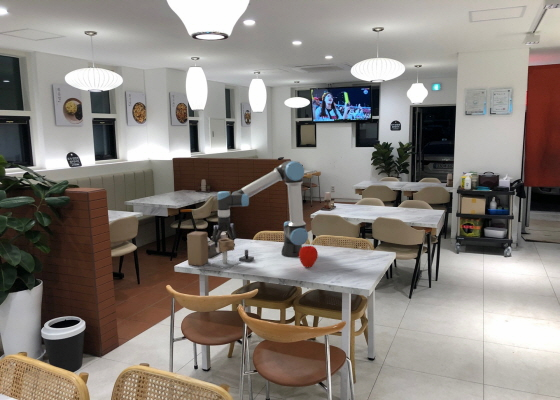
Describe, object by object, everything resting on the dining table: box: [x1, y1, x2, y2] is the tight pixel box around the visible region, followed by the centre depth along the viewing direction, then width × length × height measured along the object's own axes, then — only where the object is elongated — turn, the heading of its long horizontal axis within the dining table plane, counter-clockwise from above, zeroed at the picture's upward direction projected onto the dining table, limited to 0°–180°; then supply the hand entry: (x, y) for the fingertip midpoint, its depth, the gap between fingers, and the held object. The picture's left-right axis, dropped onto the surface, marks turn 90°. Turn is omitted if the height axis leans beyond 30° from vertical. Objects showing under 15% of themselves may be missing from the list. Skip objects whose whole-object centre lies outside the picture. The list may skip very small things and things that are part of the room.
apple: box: [299, 245, 319, 268], centre depth 276 cm, size 12×12×13 cm
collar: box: [214, 237, 235, 253], centre depth 282 cm, size 9×9×6 cm
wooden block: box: [186, 230, 209, 267], centre depth 285 cm, size 10×10×20 cm
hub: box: [209, 251, 241, 269], centre depth 283 cm, size 14×14×10 cm
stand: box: [238, 249, 255, 263], centre depth 292 cm, size 7×7×7 cm
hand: (224, 251), depth 283 cm, fingers closed on collar, 9 cm apart
